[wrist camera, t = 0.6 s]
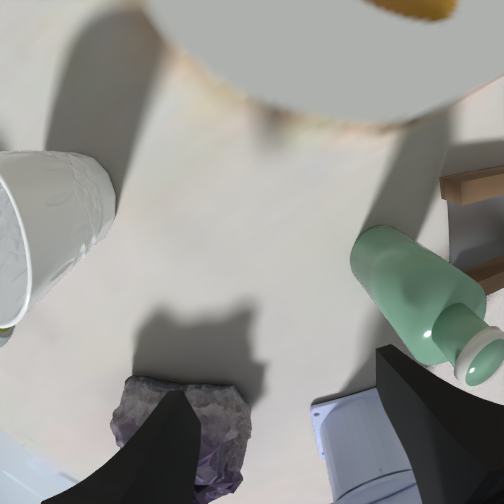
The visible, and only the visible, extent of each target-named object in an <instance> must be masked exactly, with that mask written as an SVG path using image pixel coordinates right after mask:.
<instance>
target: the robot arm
mask: <svg viewBox="0 0 504 504" xmlns="http://www.w3.org/2000/svg"><path fill="white" fill-rule="evenodd" d="M310 413H311V418H312V422H313V427H314V432H315V436H316V441H317V446H318V450H319V455H320V459H321V460H325V462H326V467H327V472H328V477H329V481H330V486H331V491H332V496H333V501H334V502H333V503H331V504H504V405H500V404H497V403H494V402H491V401H488V400H485V399H482V398H479V397H477V396H474V395H472V394H470V393H467V392H465V391H463V390H461V389H459V388H457V387H455V386H453V385H451V384H449V383H448V382H446V381H444V380H442V379H441V378H439V377H437V376H436V375H434V374H433V373H431V372H430V371H428V370H427V369H425V368H424V367H422V366H421V365H419V364H418V363H416V362H415V361H414V360H412V359H411V358H409V357H408V356H407V355H405V354H404V353H403V352H401V351H400V350H399V349H397V348H396V347H395V346H393V345H392V344H390V345H387V346H384V347H380V348H377V349H376V388H373V389H370V390H367V391H363V392H360V393H357V394H353V395H350V396H347V397H343V398H339V399H336V400H332V401H328V402H324V403H320V404H316V405H313V406H311V408H310ZM200 447H201V422H200V420H199V419H198V417H197V415H196V413H195V411H194V410H193V408H192V406H191V404H190V402H189V400H188V399H187V397H186V395H185V393H184V391H183V390H173V391H168V392H167V393H166V394H165V396H164V397H163V398H162V399H161V401H160V402H159V403H158V405H157V406H156V407H155V409H154V410H153V411H152V413H151V414H150V415H149V416H148V418H147V419H146V420H145V422H144V423H143V424H142V425H141V427H140V428H139V429H138V430H137V431H136V433H135V434H134V435H133V436H132V437H131V438H130V439H129V440H128V442H127V443H126V444H125V445H124V446H123V447H122V448H121V449H120V450H119V451H118V452H117V453H116V454H115V455H114V456H113V457H112V458H111V459H110V460H109V461H108V462H106V463H105V464H104V465H103V466H102V467H100V468H99V469H98V470H96V471H95V472H94V473H92V474H91V475H90V476H88V477H87V478H86V479H84V480H83V481H81V482H80V483H78V484H76V485H75V486H73V487H71V488H69V489H68V490H66V491H64V492H62V493H60V494H58V495H55V496H53V497H51V498H49V499H46V500H44V501H42V502H41V504H192V501H193V491H194V485H195V479H196V473H197V466H198V460H199V454H200Z"/></svg>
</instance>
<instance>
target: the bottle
mask: <svg viewBox="0 0 504 504" xmlns="http://www.w3.org/2000/svg"><path fill="white" fill-rule="evenodd" d="M350 265H351V270H352V272H353V274H354V276H355V277H356V279H357V280H358V281H359V283H360V284H361V285H362V287H363V288H364V289H365V290H366V292H367V293H368V294H369V296H370V297H371V298H372V300H373V301H374V302H375V304H376V305H377V306H378V308H379V309H380V310H381V312H382V313H383V314H384V316H385V317H386V319H387V320H388V321H389V323H390V324H391V325H392V327H393V328H394V330H395V331H396V332H397V334H398V335H399V336H400V338H401V339H402V341H403V342H404V343H405V345H406V346H407V348H408V349H409V351H410V352H411V353H412V355H413V356H414V358H415V359H416V360H417V361H419V362H420V363H422V364H426V365H437V364H441V363H444V362H446V361H449V362H450V363H451V364H452V366H453V367H454V376H455V378H456V379H457V380H458V382H459V383H460V384H461V386H462V387H463V388H464V389H465V390H474V389H477V388H479V387H481V386H483V385H484V384H486V383H487V382H488V381H490V380H491V379H492V378H493V377H494V376H495V375H496V374H497V373H498V371H499V370H500V369H501V367H502V366H503V364H504V332H503V331H502V330H501V329H500V328H499V327H496V326H489V325H488V324H487V323H486V322H485V321H484V317H485V312H486V295H485V292H484V290H483V288H482V287H481V285H480V284H479V283H477V282H476V281H475V280H473V279H472V278H470V277H469V276H468V275H466V274H465V273H463V272H462V271H460V270H459V269H457V268H456V267H454V266H453V265H452V264H450V263H449V262H447V261H446V260H444V259H443V258H441V257H440V256H438V255H437V254H435V253H433V252H432V251H430V250H429V249H427V248H426V247H424V246H423V245H421V244H419V243H418V242H416V241H415V240H413V239H411V238H410V237H408V236H407V235H405V234H403V233H402V232H400V231H398V230H397V229H395V228H393V227H390V226H385V225H381V226H376V227H372V228H370V229H368V230H367V231H365V232H364V233H363V234H362V235H361V236H360V237H359V238H358V239H357V241H356V242H355V244H354V246H353V248H352V251H351V256H350Z"/></svg>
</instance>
